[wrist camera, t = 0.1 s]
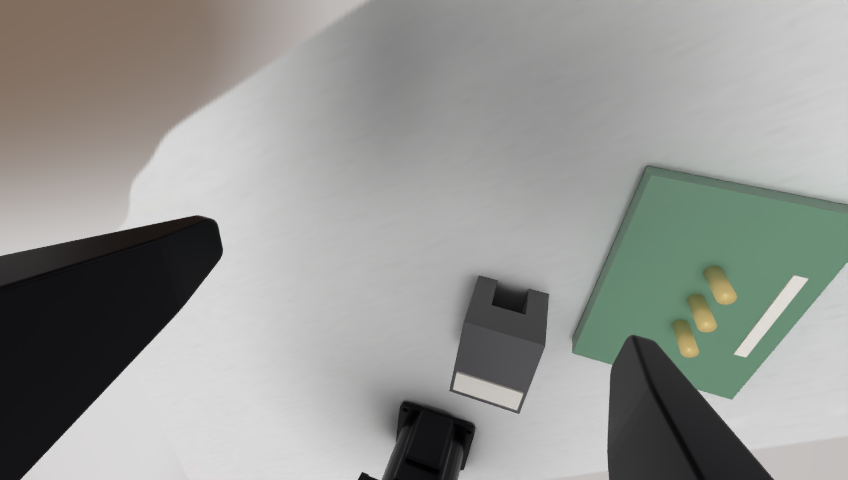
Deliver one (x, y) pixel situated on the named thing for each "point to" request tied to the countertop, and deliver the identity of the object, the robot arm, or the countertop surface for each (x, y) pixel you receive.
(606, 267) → the header board
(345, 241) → the countertop surface
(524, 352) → the plug
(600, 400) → the countertop surface
